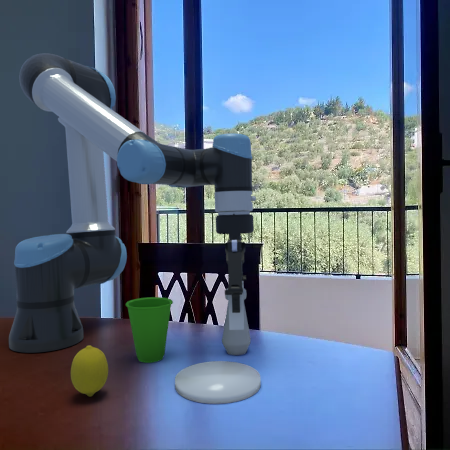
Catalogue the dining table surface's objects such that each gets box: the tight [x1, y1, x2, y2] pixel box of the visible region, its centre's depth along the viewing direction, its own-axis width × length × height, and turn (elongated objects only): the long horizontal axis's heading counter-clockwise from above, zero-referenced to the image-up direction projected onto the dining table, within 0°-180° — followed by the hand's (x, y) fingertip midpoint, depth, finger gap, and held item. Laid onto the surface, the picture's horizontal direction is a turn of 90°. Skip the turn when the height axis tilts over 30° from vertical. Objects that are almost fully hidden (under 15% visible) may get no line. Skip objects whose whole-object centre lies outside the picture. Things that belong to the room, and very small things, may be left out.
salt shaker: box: [221, 287, 252, 356], centre depth 83 cm, size 6×6×13 cm
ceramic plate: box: [174, 360, 262, 405], centre depth 69 cm, size 14×14×1 cm
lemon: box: [70, 345, 109, 397], centre depth 65 cm, size 6×6×8 cm
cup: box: [125, 296, 174, 364], centre depth 81 cm, size 9×9×11 cm
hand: (237, 319), depth 83 cm, fingers open, 13 cm apart
